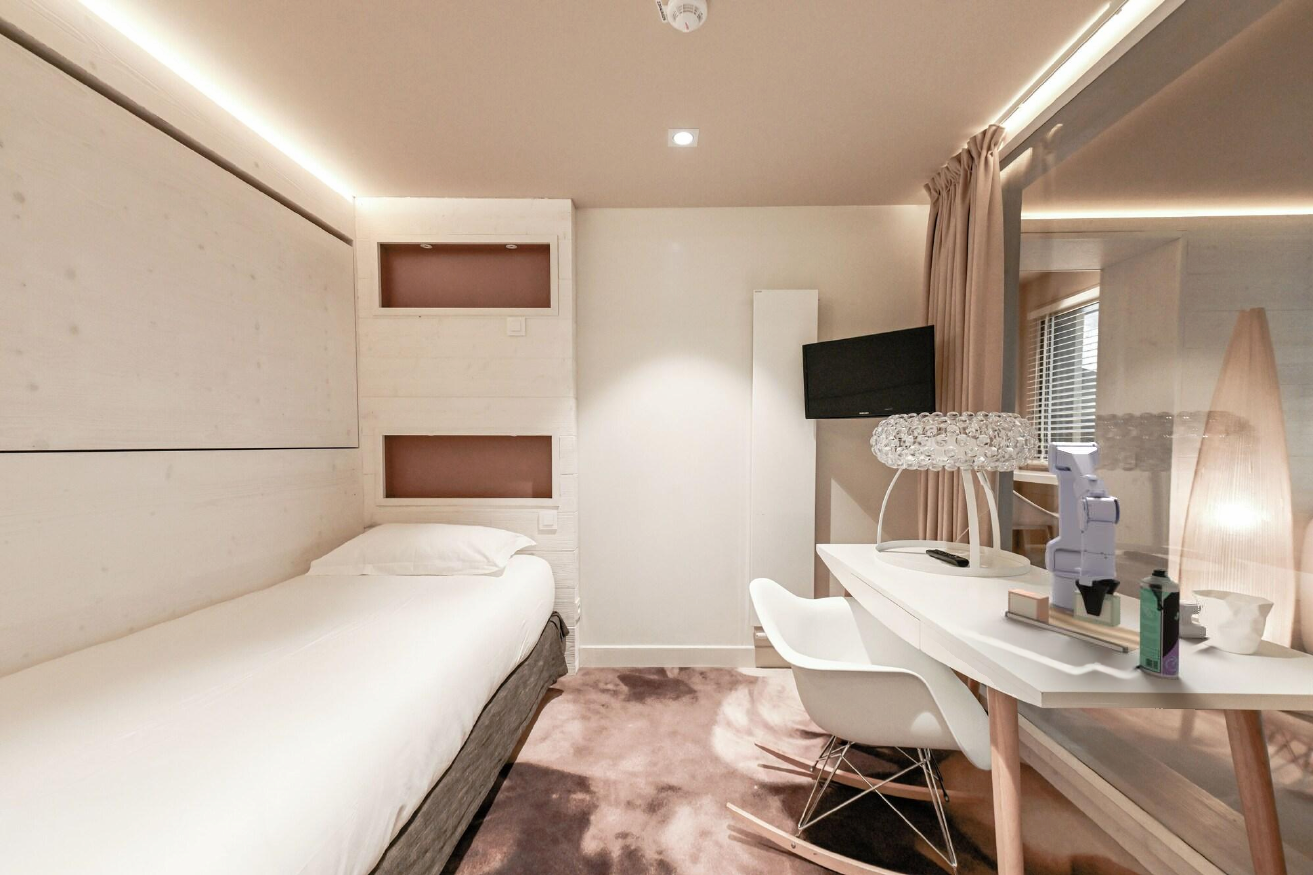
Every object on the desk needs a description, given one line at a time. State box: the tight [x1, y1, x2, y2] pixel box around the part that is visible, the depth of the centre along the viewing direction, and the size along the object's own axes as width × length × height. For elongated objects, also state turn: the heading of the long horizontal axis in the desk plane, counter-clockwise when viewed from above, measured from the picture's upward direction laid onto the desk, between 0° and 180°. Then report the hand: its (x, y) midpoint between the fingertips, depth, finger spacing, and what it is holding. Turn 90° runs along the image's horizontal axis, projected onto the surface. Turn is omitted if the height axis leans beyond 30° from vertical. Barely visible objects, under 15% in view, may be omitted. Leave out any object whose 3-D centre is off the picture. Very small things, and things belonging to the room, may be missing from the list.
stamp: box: [1179, 599, 1206, 639], centre depth 118 cm, size 9×7×8 cm
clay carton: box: [1007, 588, 1050, 622], centre depth 127 cm, size 4×7×6 cm, turn 25°
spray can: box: [1139, 568, 1181, 680], centre depth 101 cm, size 6×6×20 cm
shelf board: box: [1047, 606, 1140, 654], centre depth 122 cm, size 17×24×1 cm
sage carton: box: [1073, 590, 1121, 628], centre depth 115 cm, size 4×7×6 cm, turn 33°
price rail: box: [1004, 610, 1129, 653], centre depth 118 cm, size 1×24×2 cm, turn 25°
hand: (1097, 612), depth 115 cm, fingers closed on sage carton, 4 cm apart
